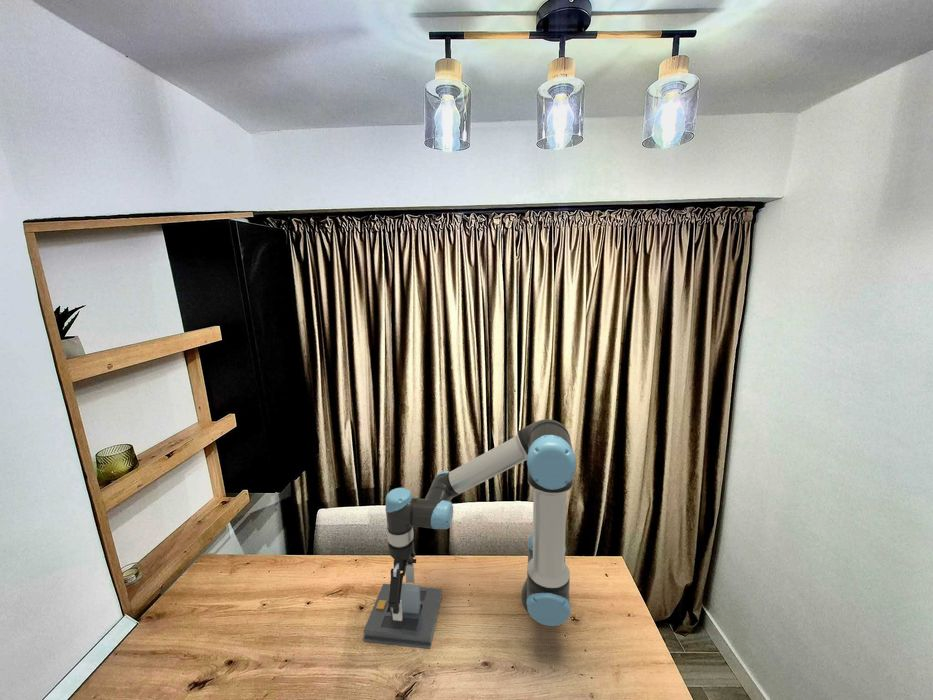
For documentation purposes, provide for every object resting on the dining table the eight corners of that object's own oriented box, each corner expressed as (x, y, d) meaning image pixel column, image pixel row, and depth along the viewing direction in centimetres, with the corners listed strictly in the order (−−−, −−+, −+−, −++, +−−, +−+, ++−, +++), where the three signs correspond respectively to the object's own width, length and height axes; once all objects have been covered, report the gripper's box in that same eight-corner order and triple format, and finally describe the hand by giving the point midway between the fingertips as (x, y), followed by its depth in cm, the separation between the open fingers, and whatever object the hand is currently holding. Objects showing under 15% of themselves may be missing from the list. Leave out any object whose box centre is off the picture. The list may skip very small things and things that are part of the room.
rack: (442, 595, 123) (441, 585, 122) (430, 648, 105) (429, 637, 105) (384, 590, 125) (383, 580, 125) (363, 641, 108) (362, 630, 107)
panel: (420, 612, 116) (419, 585, 114) (419, 619, 113) (417, 591, 112) (393, 609, 117) (391, 582, 115) (390, 616, 115) (389, 589, 113)
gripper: (401, 512, 123) (404, 567, 127) (373, 570, 98) (378, 636, 102) (423, 514, 122) (425, 569, 126) (400, 573, 97) (404, 639, 102)
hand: (404, 599), depth 114 cm, fingers open, 13 cm apart
